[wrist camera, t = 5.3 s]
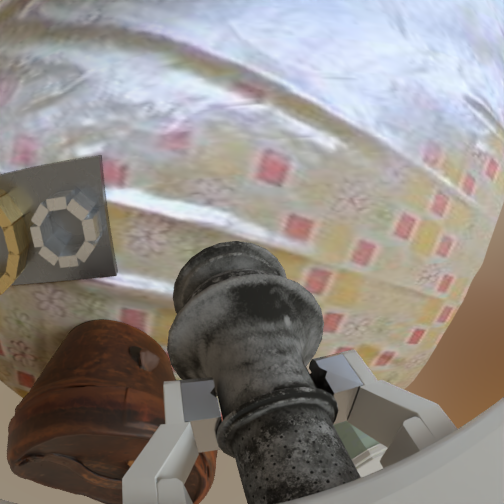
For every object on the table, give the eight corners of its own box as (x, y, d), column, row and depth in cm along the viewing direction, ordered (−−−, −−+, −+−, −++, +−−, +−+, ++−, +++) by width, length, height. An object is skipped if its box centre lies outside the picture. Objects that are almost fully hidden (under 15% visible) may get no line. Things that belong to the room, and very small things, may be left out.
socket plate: (-53, 189, 20) (-71, 198, 17) (101, 155, 24) (91, 160, 21) (-28, 284, 24) (-42, 300, 21) (117, 271, 28) (112, 289, 25)
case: (202, 410, 39) (226, 528, 23) (61, 405, 34) (43, 517, 17) (206, 299, 32) (243, 450, 16) (26, 294, 27) (-44, 420, 11)
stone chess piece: (206, 360, 16) (264, 592, 5) (141, 275, 13) (137, 599, 2) (308, 309, 16) (443, 518, 5) (264, 210, 13) (488, 482, 2)
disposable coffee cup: (289, 415, 44) (324, 495, 30) (339, 369, 42) (390, 449, 28) (330, 425, 48) (365, 492, 35) (375, 385, 46) (420, 451, 33)
